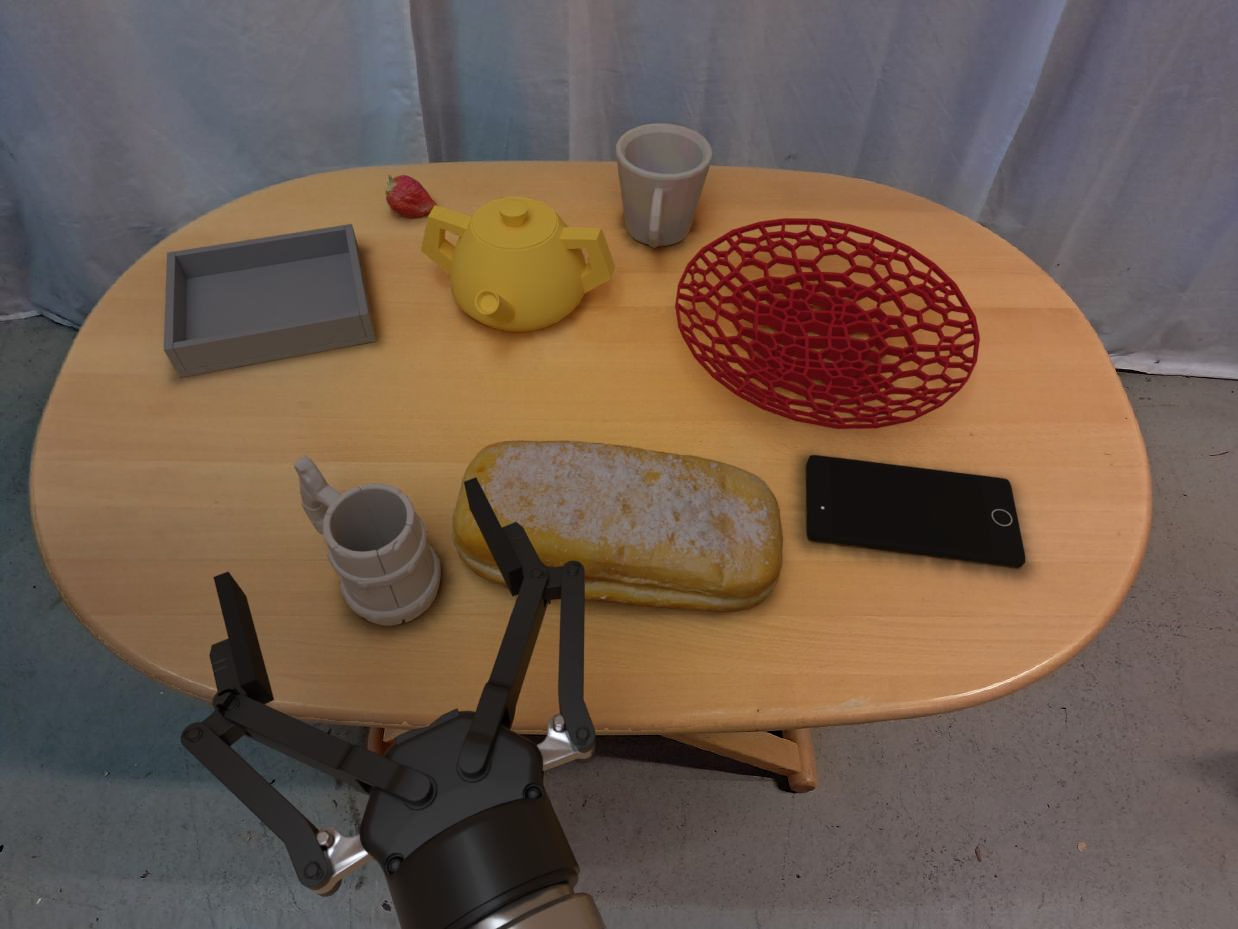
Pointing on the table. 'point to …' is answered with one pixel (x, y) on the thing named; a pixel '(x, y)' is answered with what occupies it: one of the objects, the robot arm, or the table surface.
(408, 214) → the fruit
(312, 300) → the tray
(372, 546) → the mug
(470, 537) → the bread
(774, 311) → the bowl
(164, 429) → the table surface
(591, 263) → the teapot
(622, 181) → the mug
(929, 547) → the cell phone
